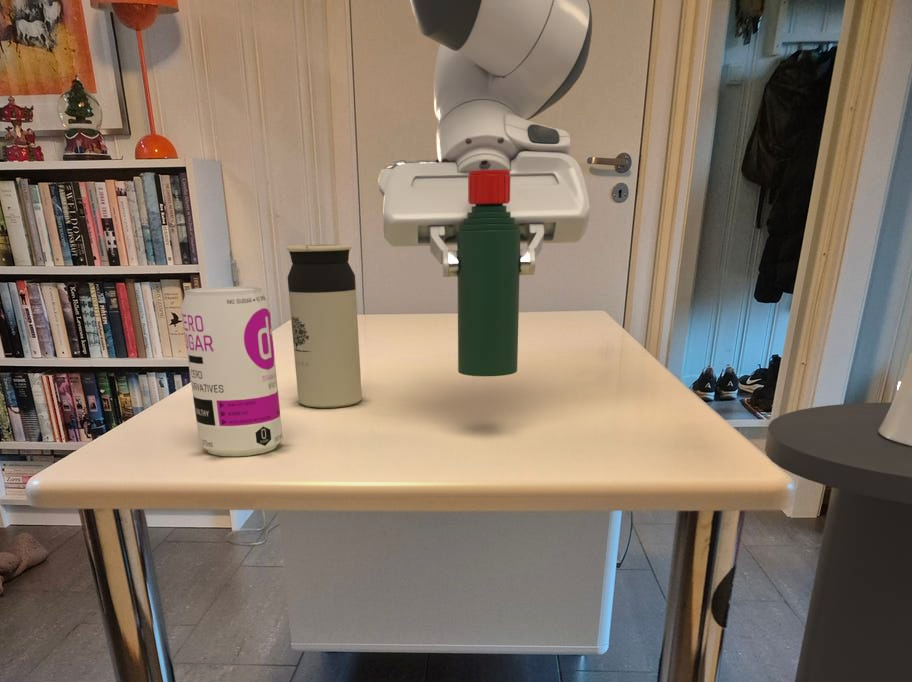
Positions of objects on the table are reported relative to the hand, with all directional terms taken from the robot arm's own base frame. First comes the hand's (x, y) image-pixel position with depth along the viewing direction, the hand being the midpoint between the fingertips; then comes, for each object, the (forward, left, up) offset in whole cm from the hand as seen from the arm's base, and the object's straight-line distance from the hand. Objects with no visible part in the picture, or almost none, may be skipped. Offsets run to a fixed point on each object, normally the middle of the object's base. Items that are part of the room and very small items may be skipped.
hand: (489, 271), depth 82 cm
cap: (0, -1, +6) cm, 6 cm away
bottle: (0, -1, -9) cm, 9 cm away
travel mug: (+22, -17, -16) cm, 32 cm away
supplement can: (+24, +7, -16) cm, 30 cm away
